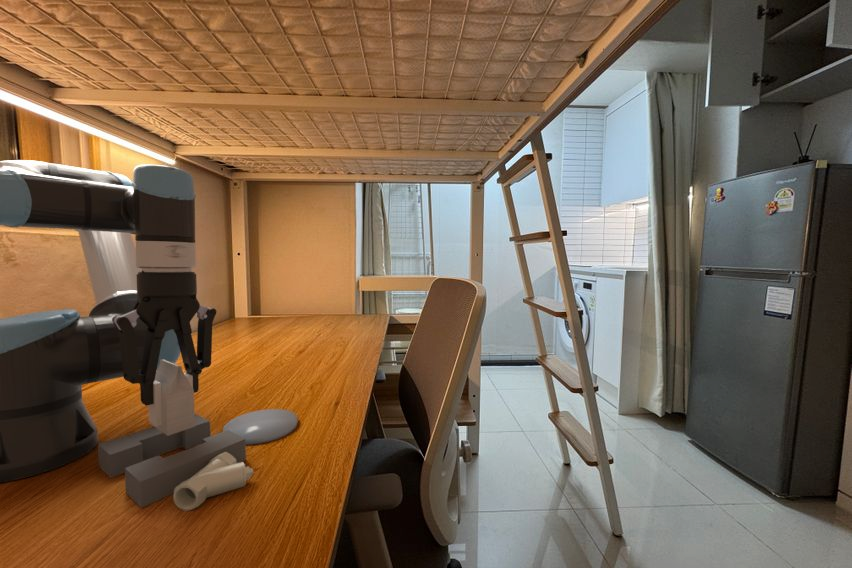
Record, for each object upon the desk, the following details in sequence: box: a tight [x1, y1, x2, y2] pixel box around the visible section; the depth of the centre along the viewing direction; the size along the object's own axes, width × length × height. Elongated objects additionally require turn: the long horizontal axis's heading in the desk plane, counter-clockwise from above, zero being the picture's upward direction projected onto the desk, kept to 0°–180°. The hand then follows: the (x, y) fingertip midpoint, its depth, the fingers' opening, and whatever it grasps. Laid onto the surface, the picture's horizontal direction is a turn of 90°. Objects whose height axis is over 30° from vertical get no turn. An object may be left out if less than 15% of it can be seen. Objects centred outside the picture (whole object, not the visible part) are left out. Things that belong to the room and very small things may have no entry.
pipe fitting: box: [172, 452, 254, 512], centre depth 50 cm, size 8×4×7 cm
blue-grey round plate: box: [222, 408, 298, 446], centre depth 70 cm, size 13×13×1 cm
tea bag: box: [149, 359, 195, 436], centre depth 57 cm, size 4×7×10 cm, turn 55°
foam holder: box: [97, 413, 247, 509], centre depth 58 cm, size 17×14×4 cm
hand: (171, 418), depth 57 cm, fingers closed on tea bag, 4 cm apart
